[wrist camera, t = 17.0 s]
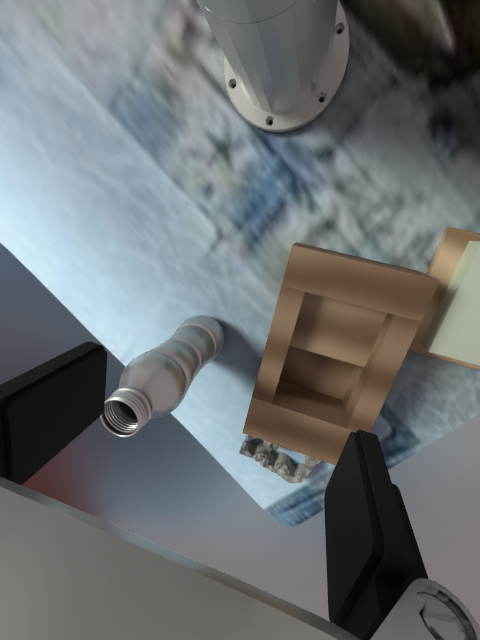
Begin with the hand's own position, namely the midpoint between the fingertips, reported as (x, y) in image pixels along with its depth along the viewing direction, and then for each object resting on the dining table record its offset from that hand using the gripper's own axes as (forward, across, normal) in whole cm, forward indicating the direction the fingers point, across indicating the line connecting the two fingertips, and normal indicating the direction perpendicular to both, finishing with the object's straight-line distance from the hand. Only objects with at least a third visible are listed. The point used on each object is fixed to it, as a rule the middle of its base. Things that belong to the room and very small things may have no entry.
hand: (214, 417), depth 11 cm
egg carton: (+29, -6, +23) cm, 37 cm away
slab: (+27, -20, -3) cm, 34 cm away
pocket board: (+28, -7, +7) cm, 30 cm away
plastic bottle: (+28, +9, +10) cm, 32 cm away
